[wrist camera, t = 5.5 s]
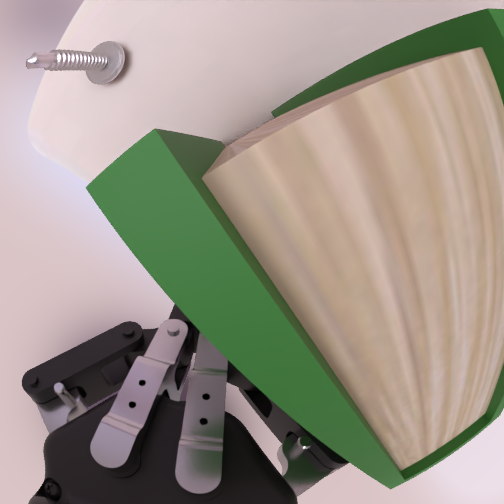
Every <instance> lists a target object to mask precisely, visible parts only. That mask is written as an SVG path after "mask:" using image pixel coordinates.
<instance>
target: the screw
mask: <svg viewBox="0 0 504 504" xmlns="http://www.w3.org/2000/svg"><path fill="white" fill-rule="evenodd" d="M124 61H125V54H124V50H123V48H122V47H121V45H119V44H118V43H116V42H112V41H107V42H103V43H101V44H99V45H98V46H96V47H95V48H94V49H93V50H92V52H82V51H73V50H71V51H70V50H52V51H51V52H49V53H34V54H33V55H32V56H31V57H30V58H29V59H27V61H26V67H27V68H28V69H31V68H44V69H45V70H50V71H53V70H55V71H58V70H60V71H62V70H86V75H87V77H88V79H89V80H90V81H91V82H93V83H95V84H106V83H108V82H110V81H112V80H113V79H115V78H116V77H117V75H118V74H119V73H120V71H121V70H122V67H123V65H124Z"/></svg>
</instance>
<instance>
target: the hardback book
mask: <svg viewBox="0 0 504 504" xmlns="http://www.w3.org/2000/svg"><path fill="white" fill-rule="evenodd" d="M272 114H273V115H274V117H275V118H274V119H272V120H270V121H269V122H267V123H265V124H263V125H262V126H260V127H258V128H256V129H255V130H253V131H251V132H249V133H248V134H246V135H244V136H243V137H241V138H239V139H238V140H236V141H234V142H233V143H231V144H230V145H228V146H226V147H224V145H223V144H222V142H221V141H217V140H212V139H208V138H203V137H198V136H193V135H188V134H183V133H178V132H172V131H166V130H160V129H154V130H152V131H151V132H150V133H148V134H147V135H146V136H144V137H143V138H142V139H141V140H139V141H138V142H137V143H135V144H134V145H133V146H132V147H131V148H129V149H128V150H127V151H126V152H124V153H123V154H122V155H121V156H120V157H119V158H117V159H116V160H115V161H114V162H113V163H112V164H110V165H109V166H108V167H107V168H106V169H105V170H104V171H103V172H102V173H100V174H99V175H98V176H97V177H96V178H95V179H94V180H93V181H92V182H91V183H90V184H89V185H88V186H87V187H86V189H87V190H88V192H89V193H90V195H91V196H92V198H93V199H94V201H95V202H96V204H97V205H98V206H99V208H100V209H101V210H102V212H103V214H104V215H105V216H106V218H107V219H108V221H109V222H110V223H111V225H112V226H113V227H114V229H115V230H116V231H117V233H118V234H119V235H120V237H121V238H122V240H123V241H124V242H125V243H126V245H127V246H128V247H129V249H130V250H131V251H132V253H133V254H134V255H135V256H136V258H137V259H138V260H139V261H140V263H141V264H142V265H143V266H144V268H145V269H146V270H147V271H148V273H149V274H150V275H151V276H152V277H153V278H154V280H155V281H156V282H157V283H158V285H159V286H160V287H161V288H162V289H163V290H164V292H165V293H166V294H167V295H168V296H169V297H170V299H171V300H172V301H173V302H174V303H175V304H176V305H177V306H178V308H179V309H180V310H181V311H182V312H183V313H184V314H185V315H186V316H187V318H188V319H189V320H190V321H191V322H192V323H193V324H194V325H195V326H196V327H197V328H198V329H199V331H200V332H201V333H202V334H203V335H204V336H205V337H206V338H207V339H208V340H209V341H210V342H211V343H212V344H213V345H214V346H215V347H216V348H217V349H218V350H219V351H220V352H221V353H222V354H223V355H224V356H225V357H226V358H227V359H228V360H229V361H230V362H231V363H232V364H233V365H234V366H235V367H236V368H237V369H238V370H239V371H240V372H241V373H242V374H243V375H244V376H245V377H246V378H247V379H249V380H250V381H251V382H252V383H253V384H254V385H255V386H256V387H257V388H258V389H259V390H260V391H262V392H263V393H264V394H265V395H266V396H267V397H268V398H269V399H270V400H272V401H273V402H274V403H275V404H276V405H277V406H278V407H280V408H281V409H282V410H283V411H284V412H285V413H287V414H288V415H289V416H290V417H291V418H293V419H294V420H295V421H296V422H297V423H299V424H300V425H301V426H302V427H304V428H305V429H306V430H307V431H308V432H310V433H311V434H312V435H314V436H315V437H316V438H317V439H319V440H320V441H321V442H323V443H324V444H325V445H326V446H328V447H329V448H330V449H332V450H333V451H335V452H336V453H337V454H339V455H340V456H341V457H343V458H344V459H346V460H347V461H348V462H350V463H351V464H353V465H354V466H356V467H357V468H358V469H360V470H362V471H363V472H364V473H366V474H367V475H369V476H370V477H372V478H374V479H375V480H377V481H378V482H380V483H382V484H383V485H385V486H386V487H388V488H390V489H392V488H394V487H396V486H398V485H400V484H402V483H404V482H406V481H408V480H410V479H412V478H414V477H415V476H417V475H419V474H421V473H422V472H424V471H426V470H427V469H429V468H431V467H432V466H434V465H436V464H437V463H439V462H440V461H442V460H443V459H445V458H446V457H448V456H449V455H451V454H452V453H454V452H455V451H456V450H458V449H459V448H461V447H462V446H463V445H465V444H466V443H467V442H469V441H470V440H471V439H473V438H474V437H475V436H476V435H478V434H479V433H480V432H481V431H482V430H483V429H485V428H486V427H487V426H488V425H490V424H491V423H492V422H493V421H494V420H495V419H496V418H497V417H499V415H500V414H501V412H502V410H503V408H504V9H484V10H480V11H477V12H473V13H470V14H466V15H463V16H460V17H457V18H453V19H450V20H448V21H445V22H442V23H439V24H436V25H434V26H431V27H428V28H426V29H423V30H421V31H418V32H416V33H413V34H411V35H409V36H406V37H404V38H402V39H400V40H397V41H395V42H393V43H391V44H389V45H386V46H384V47H382V48H380V49H378V50H376V51H374V52H372V53H370V54H368V55H366V56H364V57H362V58H360V59H358V60H356V61H355V62H353V63H351V64H349V65H347V66H345V67H343V68H342V69H340V70H338V71H336V72H335V73H333V74H331V75H329V76H328V77H326V78H324V79H322V80H321V81H319V82H317V83H316V84H314V85H312V86H311V87H309V88H308V89H306V90H304V91H303V92H301V93H300V94H298V95H296V96H295V97H293V98H292V99H290V100H289V101H287V102H286V103H284V104H283V105H281V106H280V107H278V108H277V109H275V110H274V111H272Z"/></svg>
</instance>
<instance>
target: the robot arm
mask: <svg viewBox="0 0 504 504" xmlns="http://www.w3.org/2000/svg"><path fill="white" fill-rule="evenodd" d="M193 353H196V356H195V363H194V368H193V369H192V370H191V374H190V380H189V386H188V393H187V399H186V401H180V394H181V391H182V388H183V386H184V383H185V380H186V377H187V375H188V372H189V369H190V366H191V359H192V355H193ZM226 382H228V383H230V384H232V385H235V386H237V387H239V390H240V392H241V393H242V395H243V396H244V397H245V399H246V400H247V401H248V402H249V404H250V405H251V406H252V408H253V409H254V410H255V411H256V413H257V414H258V415H259V416H260V418H261V419H262V420H263V421H264V422H265V424H266V425H267V426H268V427H269V429H270V430H271V431H272V432H273V433H274V435H275V436H276V437H277V438H278V440H279V441H280V442H281V443H282V445H281V446H280V447H279V449H278V452H277V456H278V460H279V461H280V463H281V465H282V469H283V470H282V475H281V474H280V473H279V472H278V470H277V469H276V468H275V467H274V465H273V464H272V463H271V461H270V460H269V459H268V458H267V456H266V455H265V454H264V452H263V451H262V450H261V448H260V447H259V445H258V444H257V443H256V441H255V440H254V439H253V437H252V436H251V434H250V433H249V432H248V430H247V429H246V427H245V426H244V425H243V424H242V423H241V422H240V421H239V420H238V419H237V418H236V417H234V416H233V415H231V414H230V413H228V412H225V397H226ZM22 386H23V389H24V390H25V391H26V393H27V394H28V395H29V396H30V397H31V398H32V400H33V401H34V402H35V403H36V404H37V406H38V409H39V411H40V413H41V416H42V418H43V421H44V423H45V425H46V427H47V430H48V432H49V435H48V437H47V439H46V440H45V443H44V451H43V452H44V460H45V480H44V482H43V484H42V486H41V487H40V489H39V490H38V491H37V492H36V494H35V495H34V496H33V497H32V498H31V499H30V501H29V504H298V502H297V496H299V495H300V494H302V493H303V492H305V491H306V490H307V489H309V488H310V487H312V486H313V485H315V484H316V483H317V482H319V481H320V480H321V479H323V478H324V477H326V476H328V475H329V474H331V473H333V472H335V471H336V470H338V469H340V468H341V467H343V466H345V465H346V464H348V463H350V462H348V461H347V460H346V459H344V458H343V457H341V456H340V455H339V454H337V453H336V452H335V451H333V450H332V449H330V448H329V447H328V446H326V445H325V444H324V443H323V442H321V441H320V440H319V439H317V438H316V437H315V436H314V435H312V434H311V433H310V432H308V431H307V430H306V429H305V428H304V427H302V426H301V425H300V424H299V423H297V422H296V421H295V420H294V419H293V418H291V417H290V416H289V415H288V414H287V413H285V412H284V411H283V410H282V409H281V408H280V407H278V406H277V405H276V404H275V403H274V402H273V401H272V400H270V399H269V398H268V397H267V396H266V395H265V394H264V393H263V392H262V391H260V390H259V389H258V388H257V387H256V386H255V385H254V384H253V383H252V382H251V381H250V380H249V379H247V378H246V377H245V376H244V375H243V374H242V373H241V372H240V371H239V370H238V369H237V368H236V367H235V366H234V365H233V364H232V363H231V362H230V361H229V360H228V359H227V358H226V357H225V356H224V355H223V354H222V353H221V352H220V351H219V350H218V349H217V348H216V347H215V346H214V345H213V344H212V343H211V342H210V341H209V340H208V339H207V338H206V337H205V336H204V335H203V334H202V333H201V332H200V331H199V329H198V328H197V327H196V326H195V325H194V324H193V323H192V322H191V321H190V320H189V319H188V318H187V316H186V315H185V314H184V313H183V312H182V311H181V310H180V309H179V308H178V306H177V305H176V304H175V305H174V307H173V310H172V312H171V314H170V317H169V320H166V321H164V322H163V323H162V324H161V325H160V327H159V328H155V329H142V328H141V326H140V325H139V324H138V323H136V322H131V321H129V322H124V323H121V324H120V325H118V326H116V327H114V328H112V329H110V330H108V331H106V332H104V333H102V334H100V335H98V336H96V337H94V338H92V339H90V340H88V341H86V342H84V343H82V344H80V345H78V346H77V347H74V348H72V349H70V350H68V351H66V352H64V353H62V354H60V355H58V356H56V357H54V358H52V359H50V360H48V361H46V362H45V363H42V364H40V365H39V366H36V367H35V368H32V369H30V370H29V371H27V372H26V373H25V374H24V376H23V379H22ZM119 389H120V391H119V393H118V394H116V395H114V396H112V397H110V398H108V399H107V400H105V401H103V402H102V403H100V404H98V405H97V406H95V407H93V408H92V409H90V410H88V407H89V406H91V405H92V404H94V403H96V402H98V401H100V400H102V399H103V398H105V397H107V396H108V395H111V394H112V393H114V392H116V391H118V390H119ZM87 410H88V411H87Z"/></svg>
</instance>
